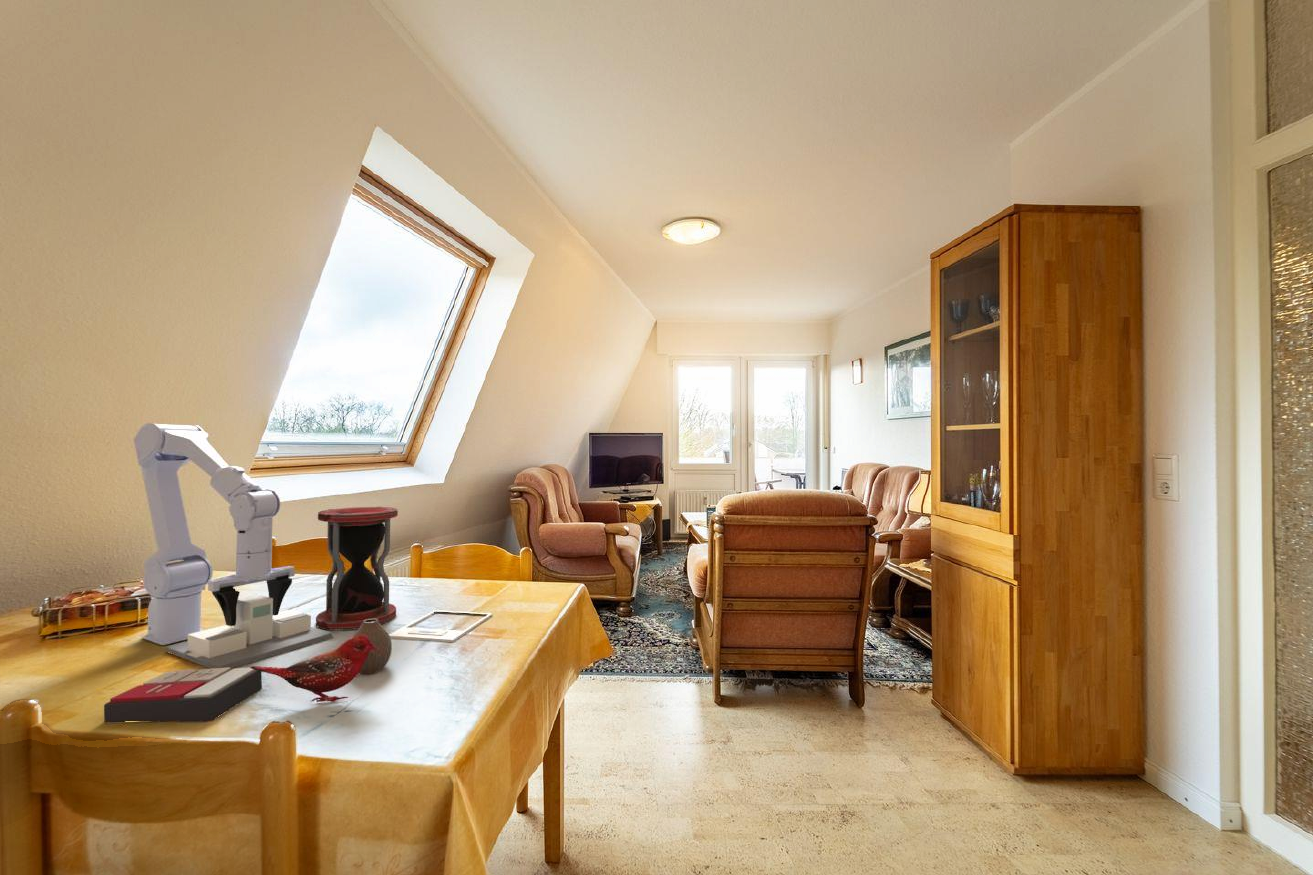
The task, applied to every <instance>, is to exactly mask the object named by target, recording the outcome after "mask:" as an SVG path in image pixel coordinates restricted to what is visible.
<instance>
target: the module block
mask: <svg viewBox="0 0 1313 875" xmlns="http://www.w3.org/2000/svg"><path fill="white" fill-rule="evenodd" d="M272 622H273V598H270V597H269V596H265V595H261V594H252V595H247V596H242V597H238V601H237V607H236V625H235V626H233V628H235V629H239V630H242V631H245V632H247V636H246V644H249V645H251V644H254V643H258V642H261V641H265V640H268V639H272Z"/></svg>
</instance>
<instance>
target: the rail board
mask: <svg viewBox="0 0 1313 875" xmlns="http://www.w3.org/2000/svg"><path fill="white" fill-rule="evenodd" d="M311 621H312V615H311V614H308V613H303V612H300V611H295V610H292V609H286V610H283V611H282V610H281V611H279V613H278V615H275V616H274V615H273V622H272V639H268V640H265V641H261V642H258V643H254V644H251V645H249V644H246V636H247V632H245V631H242V630H239V629H235V628H234V627H233V626H228V625H226V624H225V625H221V626H217V627H212V628H209V629H204V631H200V632H196V633H191V634H188V639H187V641H186V640H185V641H182V642H179V643H174V644H171V645H170V644H169V645H167V646H166V645H165V653H167V652H170V653H172V654H174V655H173V656H175V655H177V656H176V657H178V656H179V658H180V657H181V659H183V660H185V659H186V661H189V662H191V663H193V662H195V663H194V664H196V663H197V665H199V664H200V665H199V666H200V667H204V668H206V669H213V668H230V669H231V670H232V669H235V668H239V667H242V666H244V665H248V664H251V663H253V662H257V661H261V660H264V659H267V658H270V657H274V656H277V655H280V654H284V653H286V652H290V651H293V650H296V649H300V648H304V647H305V646H309V645H313V644H316V643H319V642H322V641H326V640H329V639H332V638H333V637H334V636H333V634H334V633H333V632H332V631H329V630H326V629H322V628H318V627H317V628H316V627H312V622H311ZM170 653H169V654H170ZM172 654H171V655H172Z"/></svg>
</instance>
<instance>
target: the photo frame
mask: <svg viewBox="0 0 1313 875" xmlns="http://www.w3.org/2000/svg"><path fill="white" fill-rule="evenodd" d="M435 611H441V612H457V613H470V614H469V615H473V614H484V615H483V616H484V617H482V618H481V619H479V620H478V621H476V622H474V623H473V624H472V625H470V626H468V627H466V628H465V629H464V630H453V629H452V630H451V629H435V628H421V627H413V626H416V625H417V624H419V623H421V622H422V621H425V620H427V619H428V618H430V617H431V616H430V615H432V614H435V613H436V612H435ZM434 612H435V613H434ZM429 616H430V617H429ZM432 616H433V615H432ZM490 616H491V617H492V616H493V613H492V612H473V611H472V612H471V611H456V610H454V611H452V610H440V609H439V610H438V609H436V610H435V609H434V610H432V611H431V612H429V613H427V614H425V615H423V616H421V617H420V618H417V619H415V620H413V621H412V622H410V623H408V624H406V625H405V626H402V627H400V628H399V629H397V630H395V631H393V632H391V633H388V634H389V636H390V639H394V640H395V639H397V640H410V641H411V640H412V641H424V642H425V641H426V642H427V641H429V642H430V641H431V642H440V643H441V642H443V643H445V642H446V643H454V642H456V641H457V640H459V639H460V638H462V637H463V636H465V635H466V634H468V633H469V632H471V631H472V630H474V629H475V628H476V627H477V625H478V626H479V625H481V624H482V623H484V622H485V621H486V619H487V620H488V619H490V618H491V617H490ZM427 617H428V618H427ZM489 617H490V618H489ZM424 619H425V620H424ZM420 621H421V622H420ZM483 621H484V622H483ZM418 622H419V623H418ZM481 622H482V623H481ZM480 623H481V624H480Z"/></svg>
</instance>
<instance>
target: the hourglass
mask: <svg viewBox="0 0 1313 875" xmlns="http://www.w3.org/2000/svg"><path fill="white" fill-rule="evenodd" d="M398 515H399V510H398V508H396V507H389V506H387V507H386V506H363V507H361V506H357V507H341V508H328V509H326V510H325V509H324V510H321V511H319V512H317V520H318V521H320V522H324V523H325V522H327V535H326V538H327V541H326V542H327V544H326V545H327V546H326V548H327V552H328V554H329V555H330V557H331V559H332V568H331V571H330V572H329V574H328V575H327V578H326V590H325V591H326V592H325V593H326V595H325V596H326V598H325V599H326V600H325V602H326V603H325V606H326V607H325V610H324V611H321V612H319V613H318V614H317V615H316V616H315V625H316V627H317V628H318V629H321V630H326V631H347V630H358V629H359V628H360V626H361V625H362V622H363V621H364V620H367V619H378V621H379V623H380V624H381V625H382V624H383V623H386V621H387V622H389V621H391V620H392V619H394V618H395V617H396V615H397V607H396V606H395V605H394V604H393V603H390V579H389V576H388V575H387V574H386V572H385V567H384V563H385V559H386V557H387V556H388V555H389V553H390V550H391V519H393V518H397V516H398ZM382 542H384V545H383V547H384V548H383V551H382V553H381V554H380V556H379V557H378V552H380V551H379V550H380V548H381V544H382ZM340 554H341V555H340ZM341 556H343V557H344V559H346V560H347V561H348V562H349V563H351V567H350V568H349V569H348V570H347V571H345V570H346V568H345V563H344V561H343V559H342V558H341ZM368 559H370V565H371V568H372V570H373V571H371V570H370V569H369V568H368V567H366V566H365V563H366V561H367V560H368ZM335 575H336V578H335V579H334V577H335ZM333 579H334V582H333ZM381 579H382V582H383V584H382V582H381Z"/></svg>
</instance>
